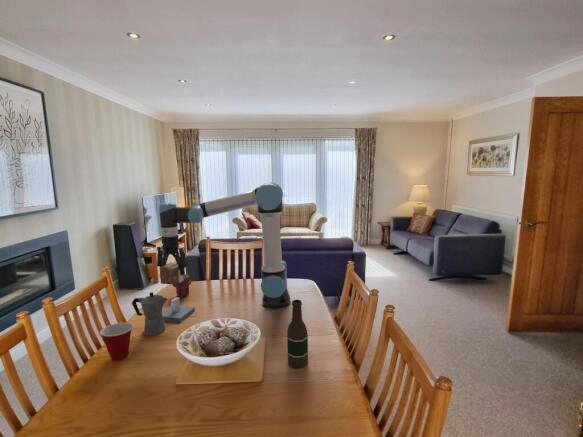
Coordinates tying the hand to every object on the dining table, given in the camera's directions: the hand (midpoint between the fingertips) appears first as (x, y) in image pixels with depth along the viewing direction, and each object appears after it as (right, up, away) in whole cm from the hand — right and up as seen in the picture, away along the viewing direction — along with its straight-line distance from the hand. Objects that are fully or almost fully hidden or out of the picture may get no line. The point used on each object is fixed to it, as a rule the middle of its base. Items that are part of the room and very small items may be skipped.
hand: (173, 280), depth 142 cm
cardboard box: (0, 0, 0) cm, 0 cm away
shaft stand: (0, -18, +3) cm, 18 cm away
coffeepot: (-5, -20, -11) cm, 24 cm away
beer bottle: (+60, -23, -35) cm, 73 cm away
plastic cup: (-8, -23, -30) cm, 39 cm away
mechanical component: (-5, -14, +26) cm, 31 cm away
